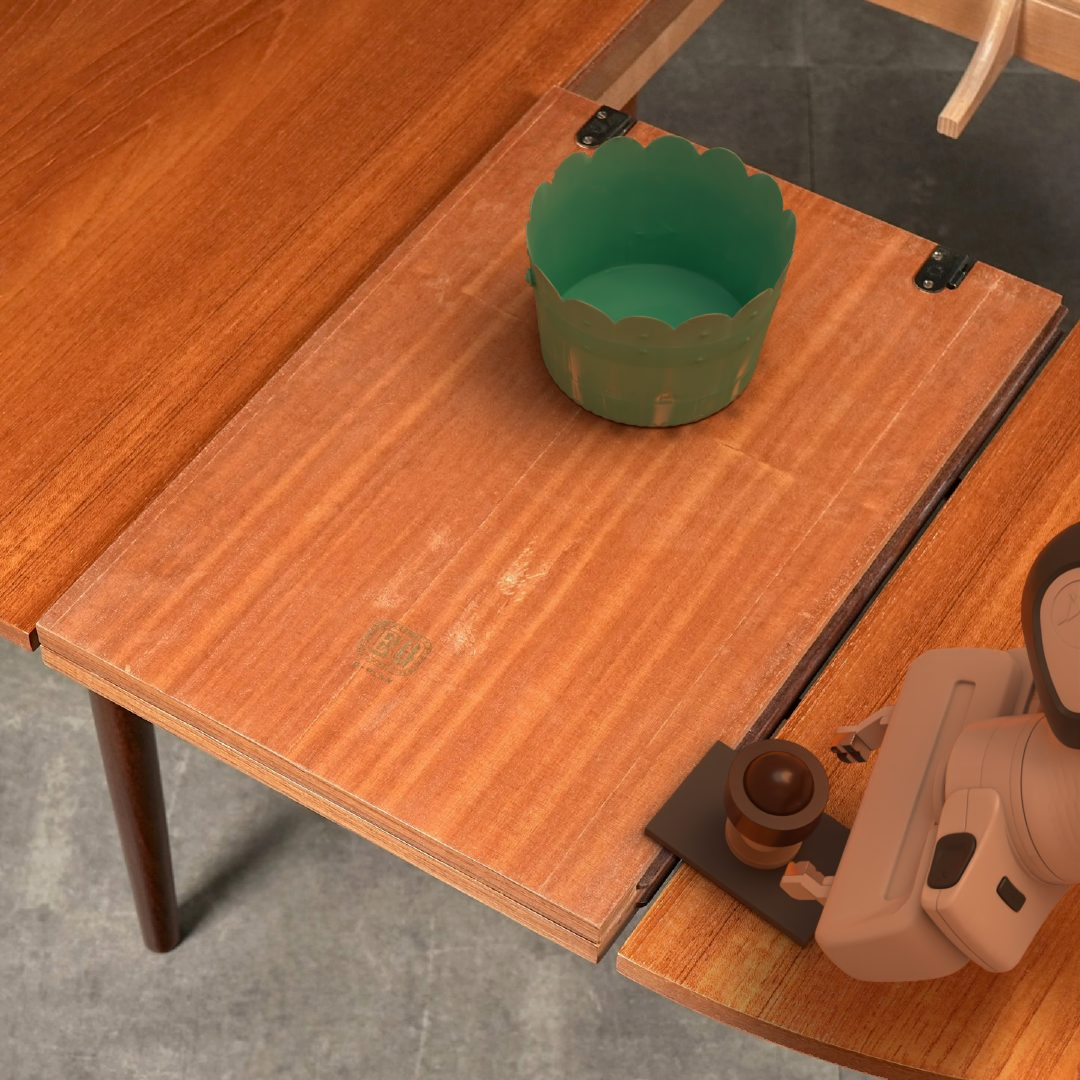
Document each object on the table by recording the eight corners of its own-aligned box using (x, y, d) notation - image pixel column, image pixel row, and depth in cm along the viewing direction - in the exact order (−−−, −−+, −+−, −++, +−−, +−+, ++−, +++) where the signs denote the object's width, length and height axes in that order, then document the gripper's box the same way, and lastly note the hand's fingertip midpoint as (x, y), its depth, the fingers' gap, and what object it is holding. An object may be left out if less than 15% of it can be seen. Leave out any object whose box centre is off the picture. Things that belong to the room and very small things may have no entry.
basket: (522, 435, 124) (525, 315, 114) (522, 254, 135) (525, 129, 124) (783, 437, 125) (810, 318, 114) (762, 257, 135) (785, 133, 125)
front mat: (874, 852, 106) (876, 847, 105) (803, 948, 102) (805, 943, 102) (716, 744, 110) (718, 738, 109) (643, 832, 106) (644, 827, 106)
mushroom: (801, 786, 108) (823, 721, 101) (820, 874, 104) (843, 813, 97) (708, 794, 107) (723, 729, 100) (723, 882, 104) (740, 822, 97)
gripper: (1036, 609, 93) (838, 639, 104) (935, 934, 83) (725, 933, 93) (1093, 677, 96) (894, 700, 106) (1003, 1001, 85) (791, 993, 96)
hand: (814, 811), depth 99 cm, fingers open, 8 cm apart
